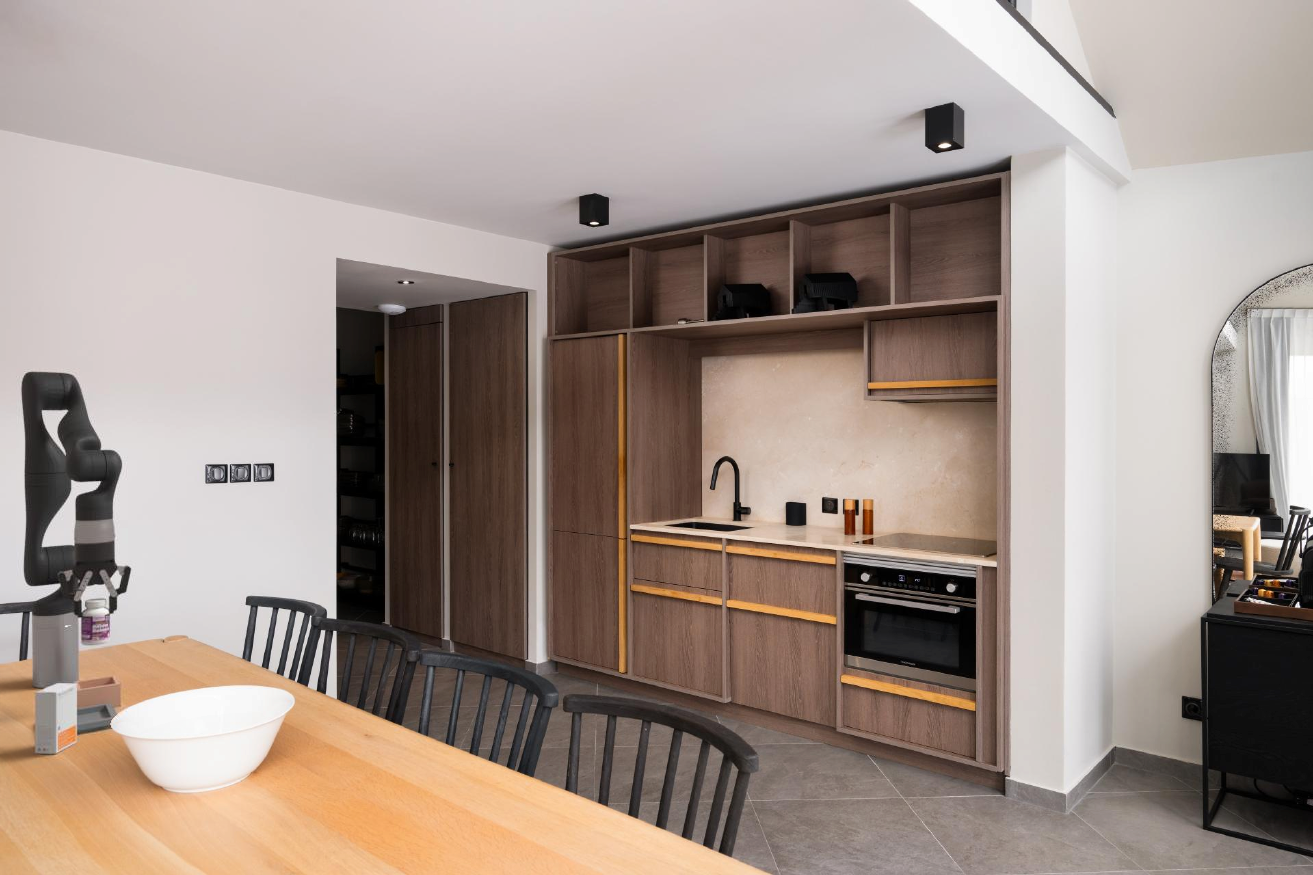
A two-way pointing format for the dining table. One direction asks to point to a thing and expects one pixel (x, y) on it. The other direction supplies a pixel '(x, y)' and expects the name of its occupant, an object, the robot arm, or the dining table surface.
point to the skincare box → (55, 718)
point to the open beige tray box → (98, 691)
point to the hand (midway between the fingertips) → (95, 614)
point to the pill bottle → (95, 622)
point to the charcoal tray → (95, 718)
